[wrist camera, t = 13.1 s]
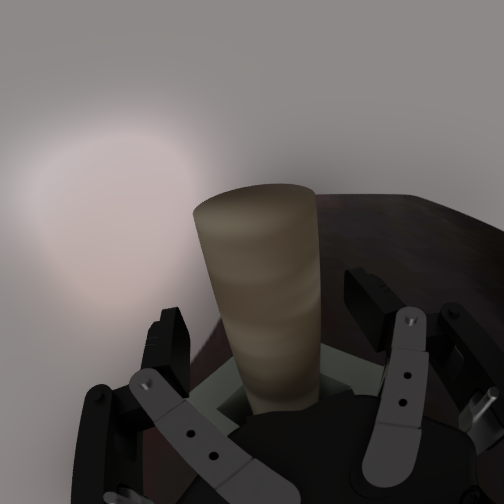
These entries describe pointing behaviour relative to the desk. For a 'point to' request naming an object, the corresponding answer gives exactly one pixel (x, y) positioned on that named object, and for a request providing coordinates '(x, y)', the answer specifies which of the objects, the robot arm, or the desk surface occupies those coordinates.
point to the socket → (236, 401)
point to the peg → (267, 289)
